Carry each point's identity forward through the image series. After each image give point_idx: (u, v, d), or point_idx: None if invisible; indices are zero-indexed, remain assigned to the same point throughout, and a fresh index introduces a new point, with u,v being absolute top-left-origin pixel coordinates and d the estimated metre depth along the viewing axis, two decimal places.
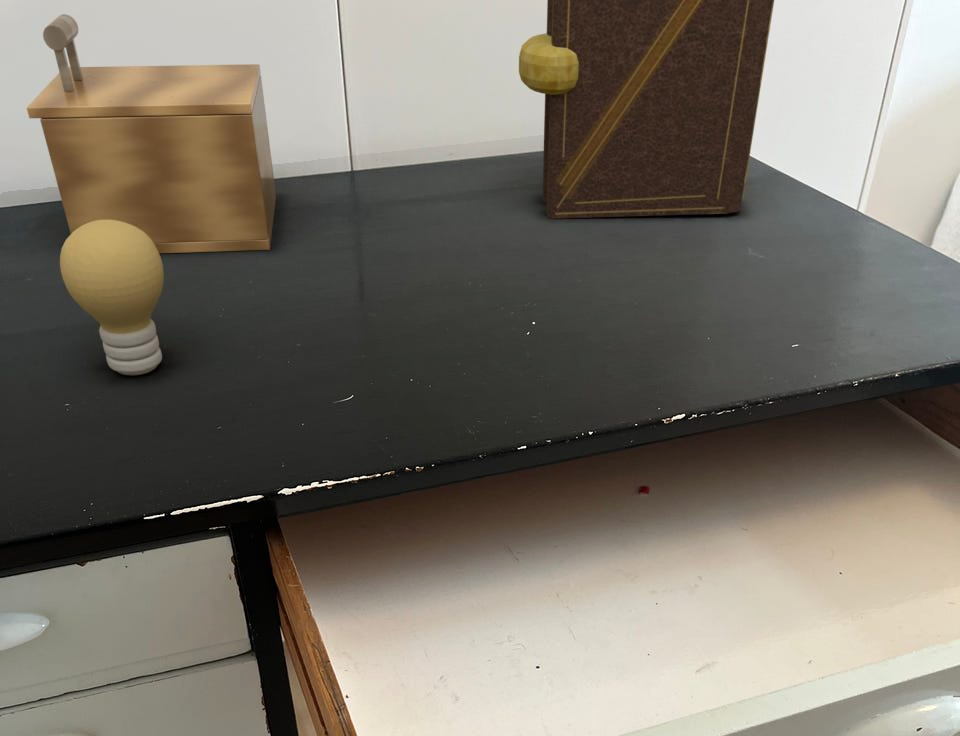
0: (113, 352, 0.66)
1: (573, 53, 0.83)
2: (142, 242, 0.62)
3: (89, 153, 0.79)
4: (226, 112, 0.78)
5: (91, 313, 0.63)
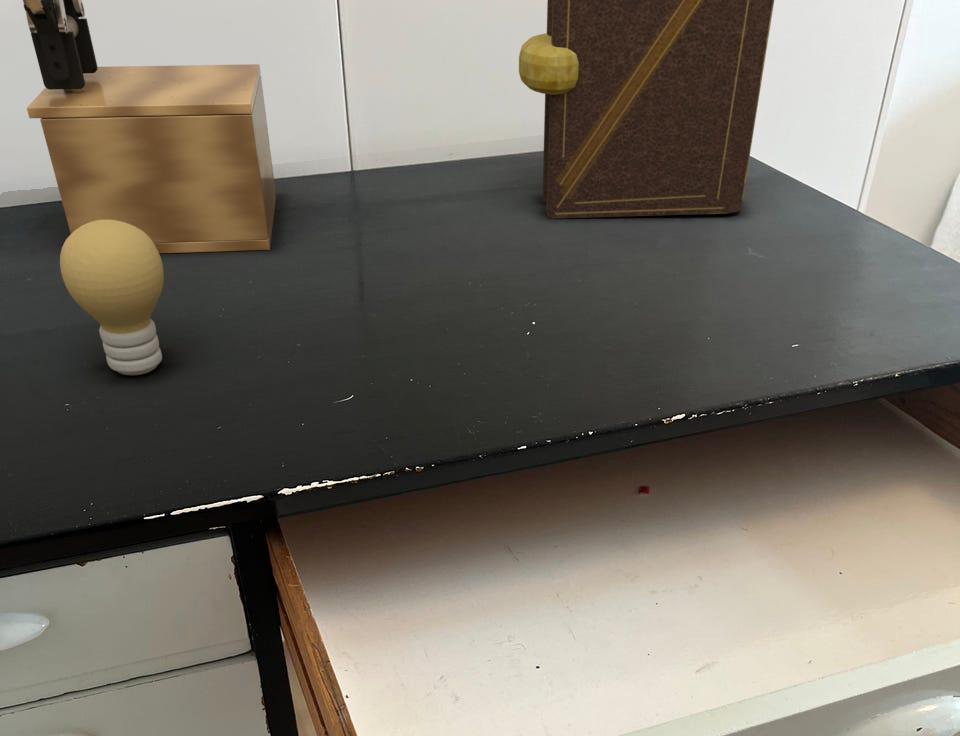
0: (113, 352, 0.66)
1: (573, 53, 0.83)
2: (142, 242, 0.62)
3: (89, 153, 0.79)
4: (226, 112, 0.78)
5: (91, 313, 0.63)
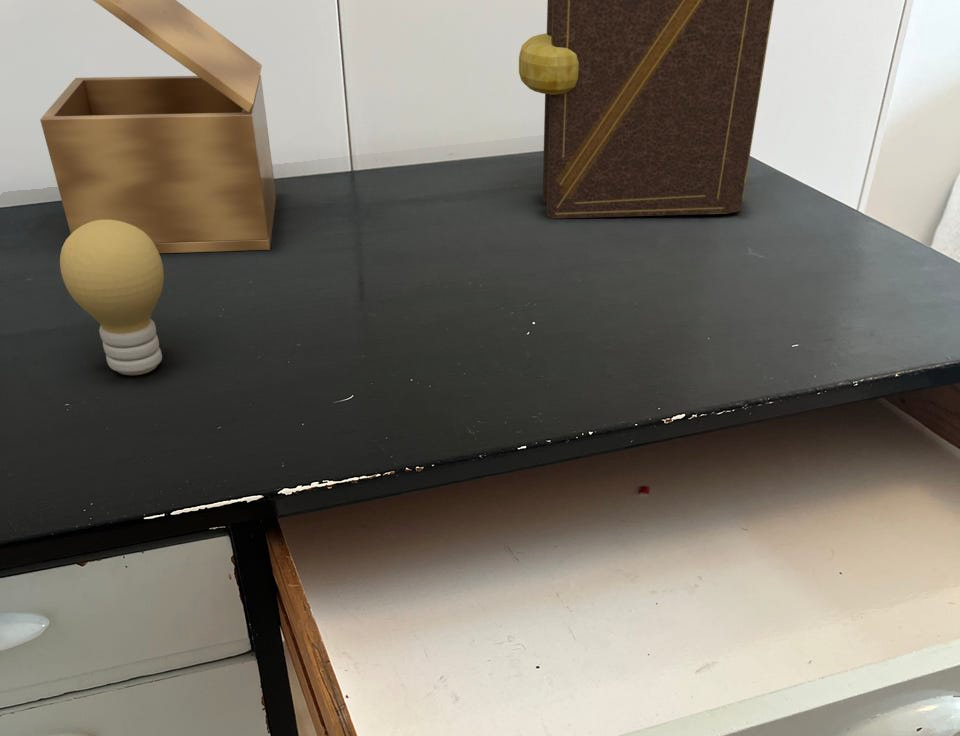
0: (113, 352, 0.66)
1: (573, 53, 0.83)
2: (142, 242, 0.62)
3: (89, 153, 0.79)
4: (227, 94, 0.77)
5: (91, 313, 0.63)
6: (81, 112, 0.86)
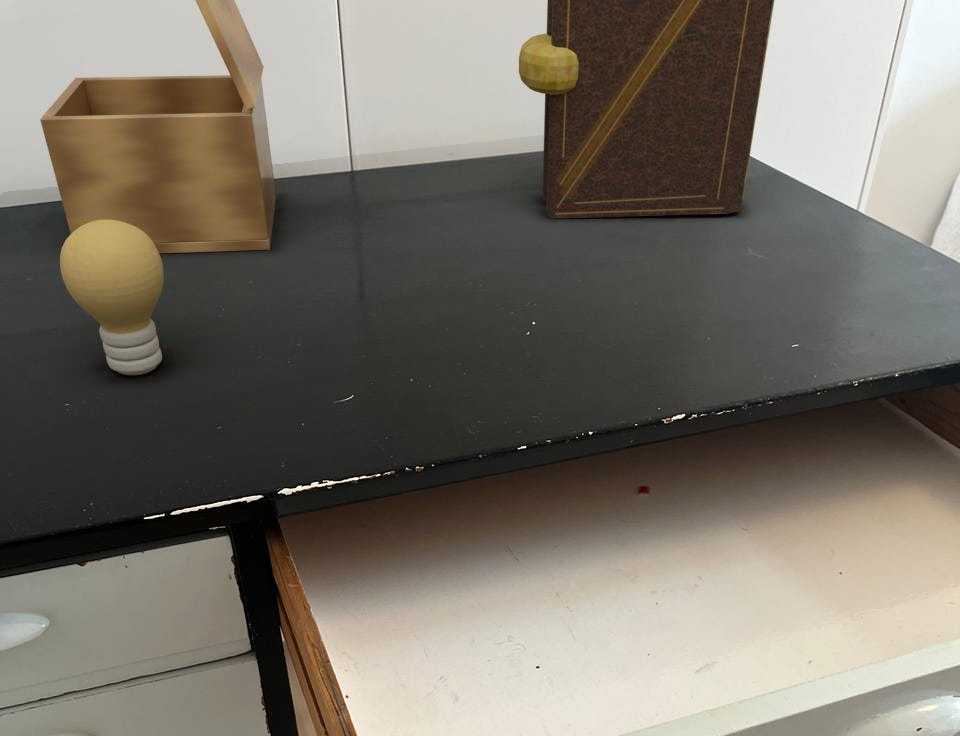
0: (113, 352, 0.66)
1: (573, 53, 0.83)
2: (142, 242, 0.62)
3: (89, 153, 0.79)
4: (236, 83, 0.77)
5: (91, 313, 0.63)
6: (81, 112, 0.86)
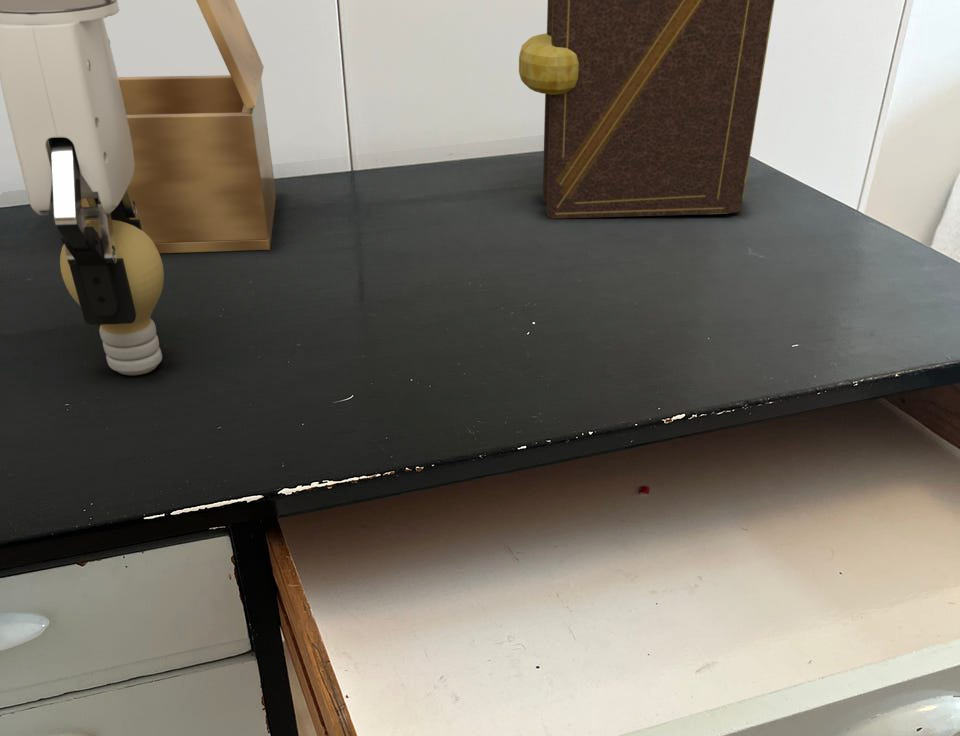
0: (113, 352, 0.66)
1: (573, 53, 0.83)
2: (142, 242, 0.62)
3: None
4: (236, 83, 0.77)
5: None
6: None
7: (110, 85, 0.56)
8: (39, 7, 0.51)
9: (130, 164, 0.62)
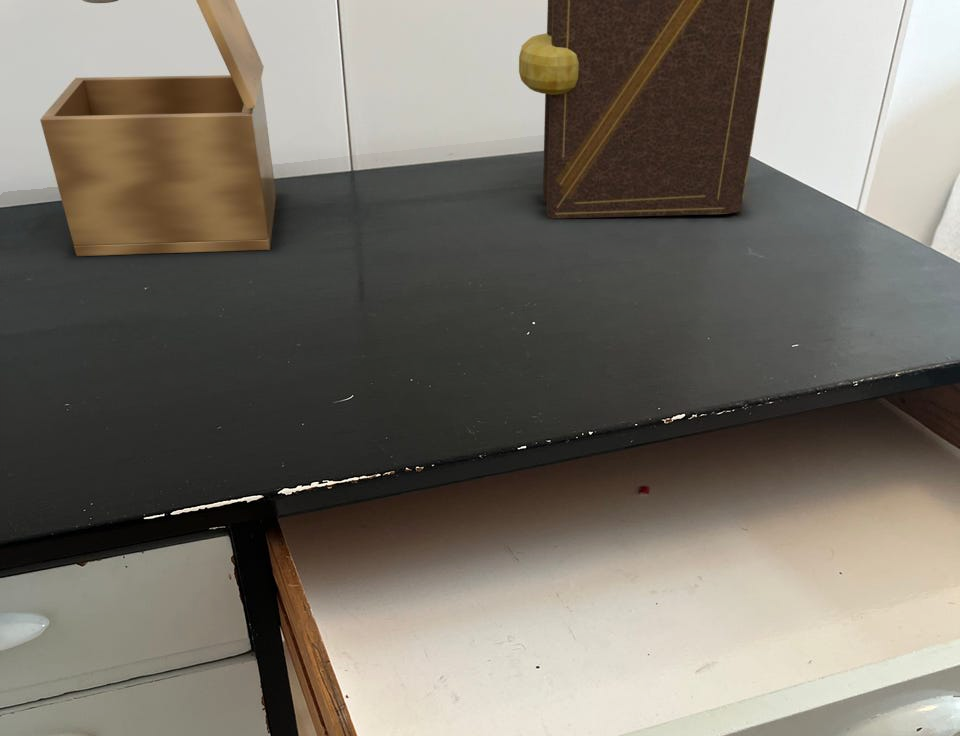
0: None
1: (573, 53, 0.83)
2: None
3: (89, 153, 0.79)
4: (236, 83, 0.77)
5: None
6: (81, 112, 0.86)
7: None
8: None
9: None
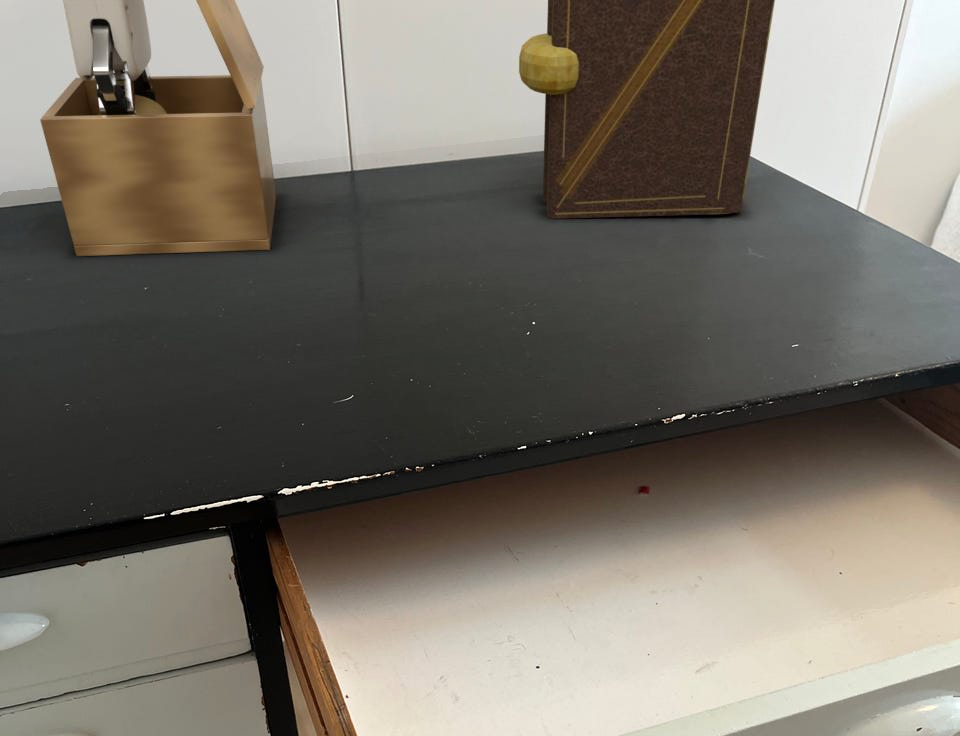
0: None
1: (573, 53, 0.83)
2: (159, 111, 0.84)
3: (89, 153, 0.79)
4: (236, 83, 0.77)
5: None
6: (81, 112, 0.86)
7: None
8: None
9: (148, 50, 0.83)
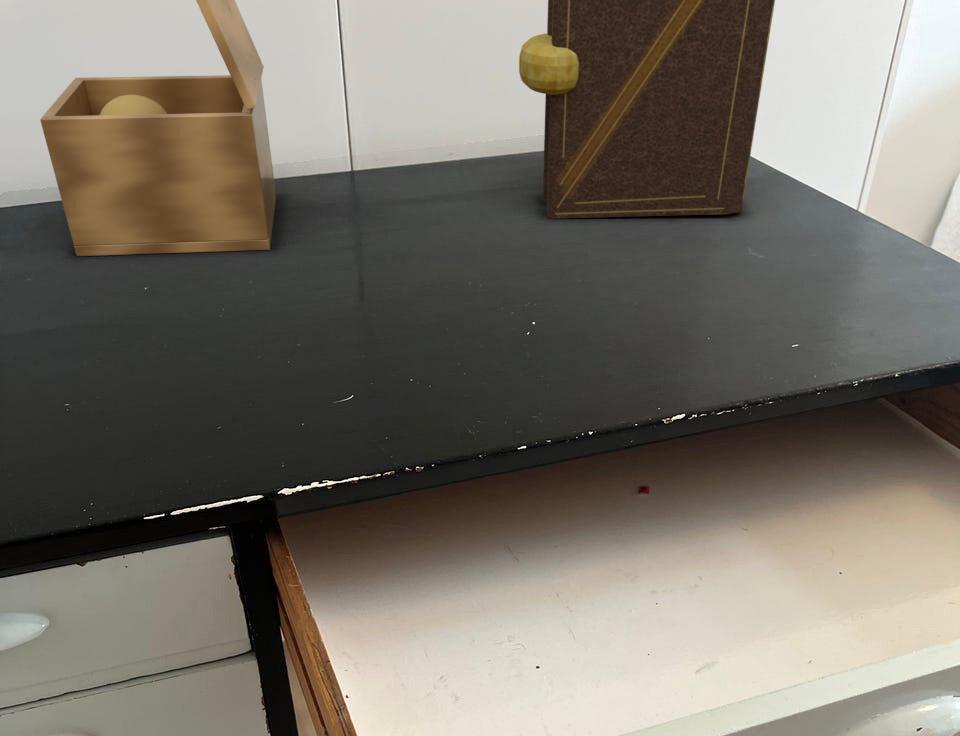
0: None
1: (574, 53, 0.83)
2: (159, 111, 0.84)
3: (89, 153, 0.79)
4: (236, 83, 0.77)
5: None
6: (81, 112, 0.86)
7: None
8: None
9: None
